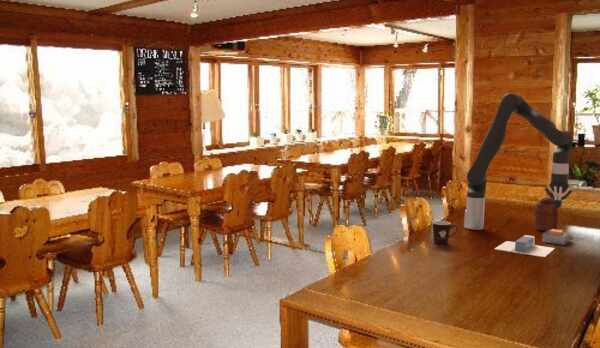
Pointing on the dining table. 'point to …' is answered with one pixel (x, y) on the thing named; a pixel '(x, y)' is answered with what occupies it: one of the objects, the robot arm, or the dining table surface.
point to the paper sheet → (534, 251)
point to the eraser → (524, 243)
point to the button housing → (555, 238)
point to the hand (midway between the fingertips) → (557, 207)
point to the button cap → (556, 232)
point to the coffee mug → (442, 232)
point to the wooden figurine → (546, 214)
